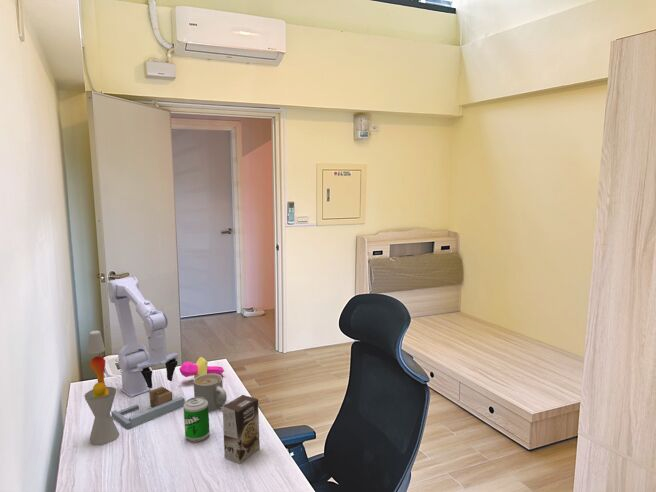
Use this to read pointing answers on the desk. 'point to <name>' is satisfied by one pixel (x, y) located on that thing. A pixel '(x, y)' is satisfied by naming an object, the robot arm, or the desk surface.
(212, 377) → the coffee mug
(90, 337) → the lava lamp
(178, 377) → the desk surface
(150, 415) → the grey j-shaped hook
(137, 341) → the robot arm
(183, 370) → the toy
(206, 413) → the soda can
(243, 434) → the coffee box
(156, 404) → the cardboard box
